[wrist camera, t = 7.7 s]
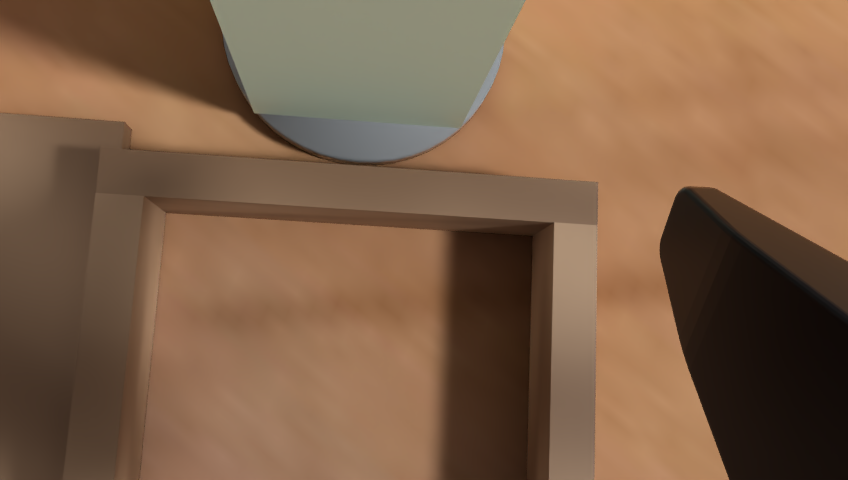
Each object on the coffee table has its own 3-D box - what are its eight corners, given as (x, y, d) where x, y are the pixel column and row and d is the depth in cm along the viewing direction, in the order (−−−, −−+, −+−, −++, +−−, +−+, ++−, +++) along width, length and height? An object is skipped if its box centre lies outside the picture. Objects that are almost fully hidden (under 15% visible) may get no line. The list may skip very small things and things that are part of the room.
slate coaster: (495, 174, 19) (500, 169, 18) (213, 154, 18) (209, 148, 18) (504, -81, 20) (508, -94, 20) (237, -108, 19) (234, -122, 19)
